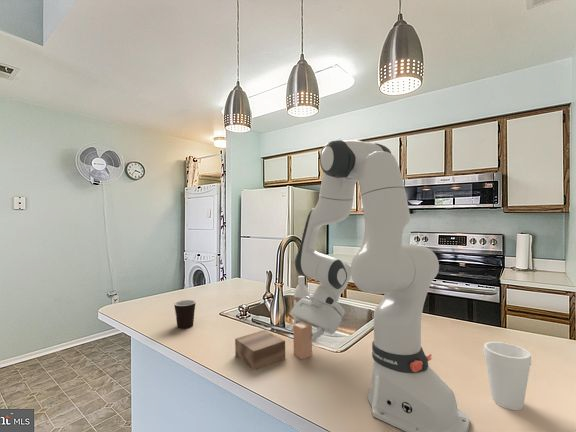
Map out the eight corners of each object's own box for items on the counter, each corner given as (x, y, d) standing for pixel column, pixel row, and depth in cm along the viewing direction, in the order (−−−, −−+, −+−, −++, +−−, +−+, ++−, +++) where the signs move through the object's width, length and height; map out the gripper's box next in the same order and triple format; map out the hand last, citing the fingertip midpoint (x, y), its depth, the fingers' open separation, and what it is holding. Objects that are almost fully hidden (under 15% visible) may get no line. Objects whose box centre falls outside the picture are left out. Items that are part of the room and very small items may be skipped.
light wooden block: (312, 355, 100) (311, 325, 100) (302, 359, 97) (301, 328, 97) (303, 350, 103) (303, 321, 103) (293, 354, 101) (293, 324, 101)
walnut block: (285, 358, 98) (285, 340, 98) (254, 370, 91) (253, 351, 91) (265, 346, 108) (265, 329, 108) (235, 356, 100) (235, 338, 100)
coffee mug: (191, 330, 123) (191, 305, 123) (171, 330, 123) (170, 306, 123) (200, 320, 135) (200, 298, 135) (181, 320, 135) (181, 298, 135)
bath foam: (291, 319, 134) (291, 275, 134) (306, 318, 136) (305, 274, 136) (297, 325, 127) (296, 278, 127) (312, 323, 129) (311, 277, 129)
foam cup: (507, 389, 79) (506, 340, 79) (541, 411, 70) (541, 356, 70) (475, 392, 78) (474, 343, 78) (506, 416, 69) (506, 360, 69)
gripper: (299, 290, 113) (278, 322, 107) (339, 302, 97) (318, 340, 91) (308, 300, 116) (288, 331, 110) (349, 313, 100) (328, 351, 94)
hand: (302, 335), depth 100 cm, fingers open, 8 cm apart
